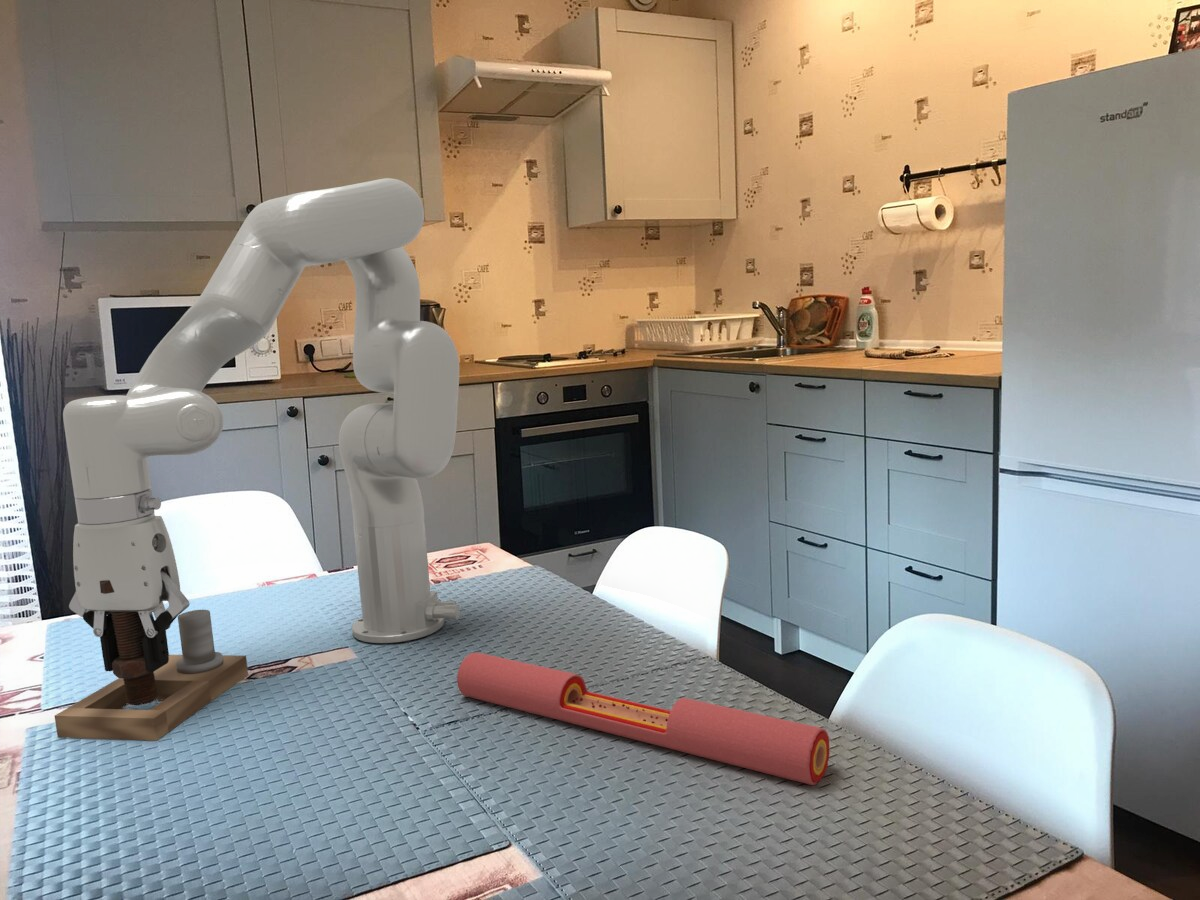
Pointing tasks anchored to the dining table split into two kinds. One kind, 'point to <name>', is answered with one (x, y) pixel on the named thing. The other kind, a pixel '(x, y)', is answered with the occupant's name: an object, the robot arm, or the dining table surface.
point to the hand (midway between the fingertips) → (137, 665)
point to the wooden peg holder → (159, 690)
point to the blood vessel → (653, 719)
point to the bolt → (131, 655)
